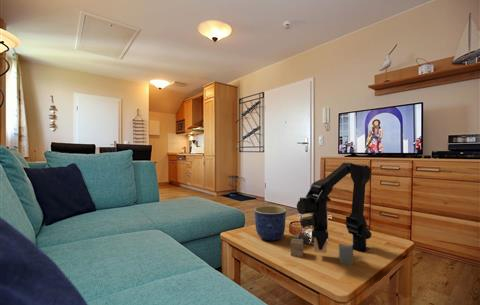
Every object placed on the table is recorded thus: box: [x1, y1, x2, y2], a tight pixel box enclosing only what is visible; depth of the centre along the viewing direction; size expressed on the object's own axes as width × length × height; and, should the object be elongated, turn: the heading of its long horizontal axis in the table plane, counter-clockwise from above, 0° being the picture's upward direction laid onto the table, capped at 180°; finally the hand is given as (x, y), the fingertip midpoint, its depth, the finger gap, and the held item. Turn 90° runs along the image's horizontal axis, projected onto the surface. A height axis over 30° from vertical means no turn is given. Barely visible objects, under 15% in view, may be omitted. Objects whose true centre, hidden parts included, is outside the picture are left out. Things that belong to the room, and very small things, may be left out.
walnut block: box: [290, 238, 304, 258], centre depth 103 cm, size 5×5×6 cm
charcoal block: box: [338, 243, 354, 265], centre depth 96 cm, size 5×5×6 cm
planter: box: [254, 205, 287, 241], centre depth 123 cm, size 17×17×15 cm
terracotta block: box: [313, 237, 328, 254], centre depth 99 cm, size 5×5×6 cm
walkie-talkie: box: [293, 230, 311, 244], centre depth 118 cm, size 9×4×20 cm
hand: (320, 247), depth 99 cm, fingers closed on terracotta block, 5 cm apart
